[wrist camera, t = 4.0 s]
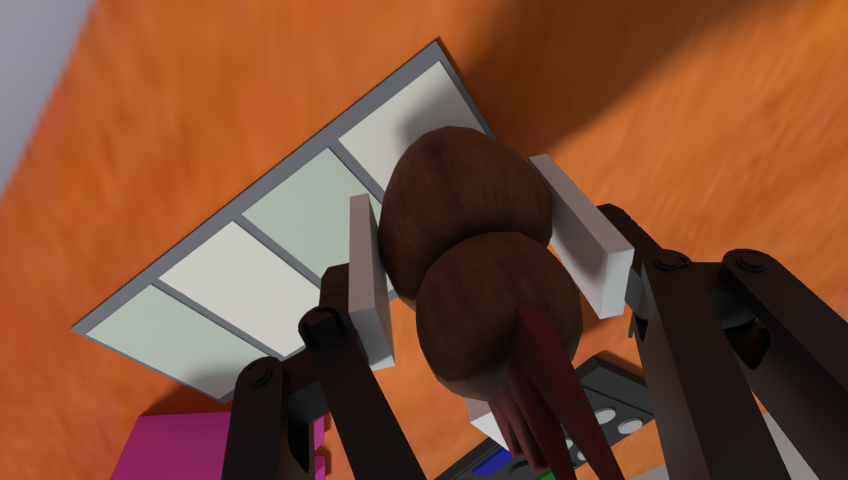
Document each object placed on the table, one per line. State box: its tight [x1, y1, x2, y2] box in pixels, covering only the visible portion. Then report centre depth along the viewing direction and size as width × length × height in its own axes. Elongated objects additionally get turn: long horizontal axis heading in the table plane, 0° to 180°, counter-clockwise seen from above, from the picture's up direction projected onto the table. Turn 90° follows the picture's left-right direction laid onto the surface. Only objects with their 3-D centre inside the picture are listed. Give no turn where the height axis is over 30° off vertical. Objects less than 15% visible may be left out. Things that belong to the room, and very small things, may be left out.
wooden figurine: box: [377, 126, 625, 480], centre depth 14 cm, size 7×6×15 cm
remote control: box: [434, 356, 655, 480], centre depth 39 cm, size 11×30×2 cm, turn 144°
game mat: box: [70, 40, 498, 404], centre depth 22 cm, size 24×10×1 cm, turn 125°
